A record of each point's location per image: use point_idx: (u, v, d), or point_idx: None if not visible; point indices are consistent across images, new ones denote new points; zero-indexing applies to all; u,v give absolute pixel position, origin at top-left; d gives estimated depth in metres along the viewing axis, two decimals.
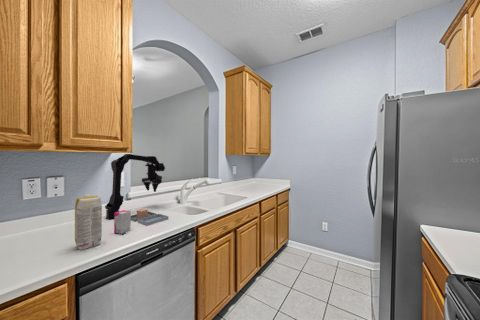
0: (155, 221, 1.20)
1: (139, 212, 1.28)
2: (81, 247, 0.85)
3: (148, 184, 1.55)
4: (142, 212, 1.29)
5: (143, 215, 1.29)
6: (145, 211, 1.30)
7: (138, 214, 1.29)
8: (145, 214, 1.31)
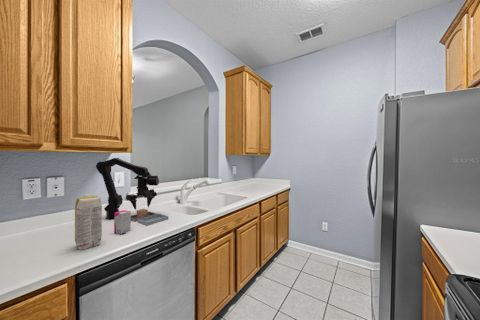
0: (155, 221, 1.20)
1: (139, 212, 1.28)
2: (81, 247, 0.85)
3: (149, 199, 1.35)
4: (142, 212, 1.29)
5: (143, 215, 1.29)
6: (145, 211, 1.30)
7: (138, 214, 1.29)
8: (145, 214, 1.31)
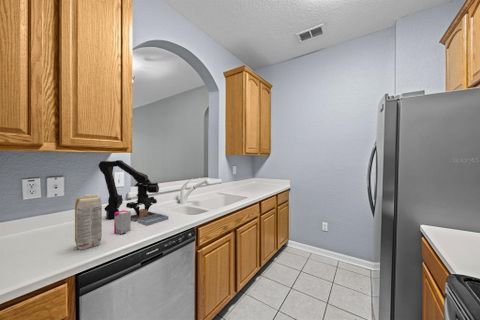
0: (155, 221, 1.20)
1: (139, 212, 1.28)
2: (81, 247, 0.85)
3: (146, 207, 1.33)
4: (142, 212, 1.29)
5: (143, 215, 1.29)
6: (145, 211, 1.30)
7: None
8: (145, 214, 1.31)
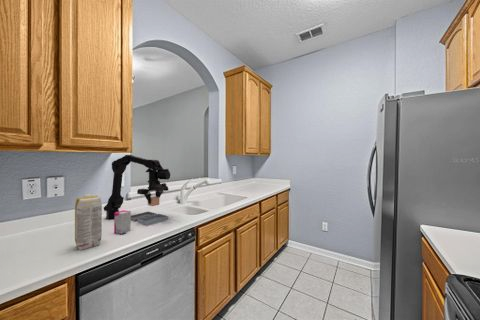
0: (155, 221, 1.20)
1: None
2: (81, 247, 0.85)
3: (158, 194, 1.26)
4: (154, 199, 1.22)
5: (155, 202, 1.22)
6: (157, 198, 1.23)
7: None
8: (157, 201, 1.23)
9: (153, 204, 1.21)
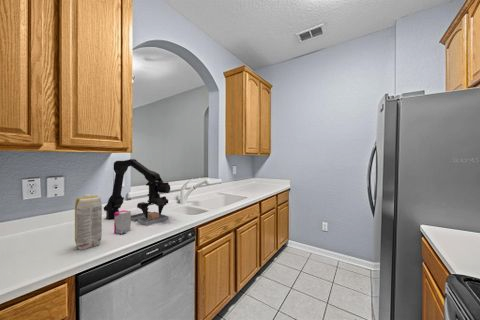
0: (155, 221, 1.20)
1: (150, 215, 1.21)
2: (81, 247, 0.85)
3: (160, 207, 1.28)
4: (153, 215, 1.22)
5: (154, 219, 1.22)
6: (156, 214, 1.23)
7: (149, 217, 1.22)
8: (157, 217, 1.23)
9: None
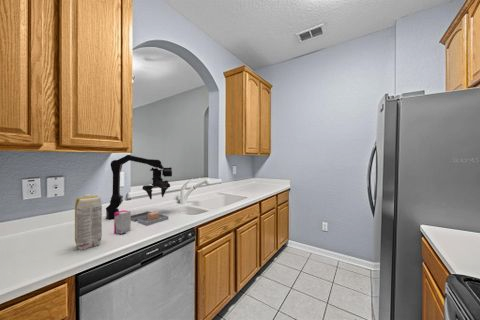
0: (155, 221, 1.20)
1: (150, 215, 1.21)
2: (81, 247, 0.85)
3: (163, 190, 1.43)
4: (153, 215, 1.22)
5: (154, 219, 1.22)
6: (156, 214, 1.23)
7: (149, 217, 1.22)
8: (157, 217, 1.23)
9: None
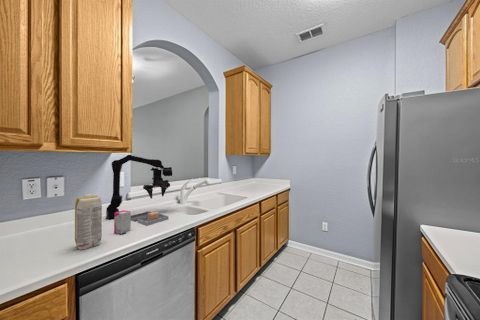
0: (155, 221, 1.20)
1: (150, 215, 1.21)
2: (81, 247, 0.85)
3: (163, 189, 1.45)
4: (153, 215, 1.22)
5: (154, 219, 1.22)
6: (156, 214, 1.23)
7: (149, 217, 1.22)
8: (157, 217, 1.23)
9: None
